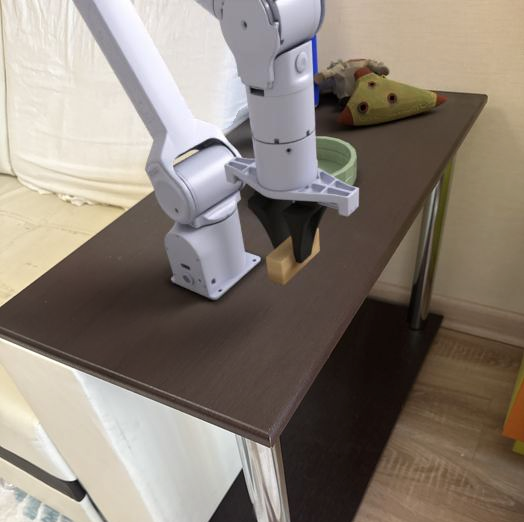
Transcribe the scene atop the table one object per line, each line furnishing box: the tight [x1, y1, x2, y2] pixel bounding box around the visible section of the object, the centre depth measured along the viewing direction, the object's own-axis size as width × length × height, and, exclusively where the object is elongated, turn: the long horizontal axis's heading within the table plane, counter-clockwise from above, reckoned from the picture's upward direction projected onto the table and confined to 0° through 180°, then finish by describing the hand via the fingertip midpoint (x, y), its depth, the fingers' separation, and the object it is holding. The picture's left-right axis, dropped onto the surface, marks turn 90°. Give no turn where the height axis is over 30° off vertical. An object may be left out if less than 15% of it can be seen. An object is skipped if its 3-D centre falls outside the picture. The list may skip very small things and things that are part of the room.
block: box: [265, 227, 321, 286], centre depth 56 cm, size 7×2×3 cm, turn 142°
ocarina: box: [336, 67, 448, 126], centre depth 92 cm, size 20×5×10 cm
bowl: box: [293, 135, 358, 203], centre depth 81 cm, size 15×15×4 cm
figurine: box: [314, 58, 391, 110], centre depth 101 cm, size 10×14×15 cm
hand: (294, 254), depth 56 cm, fingers closed on block, 2 cm apart
